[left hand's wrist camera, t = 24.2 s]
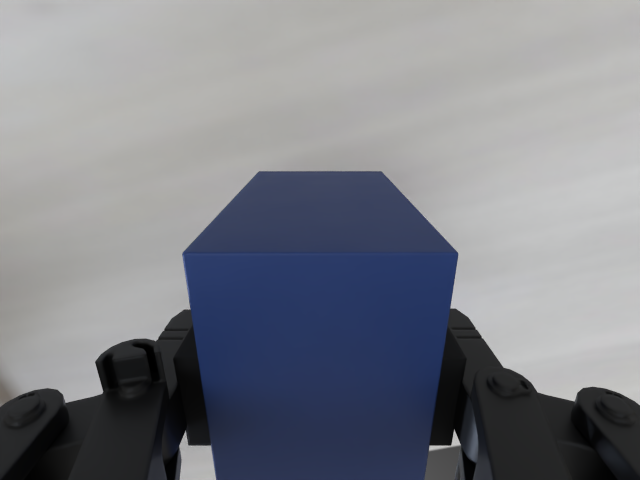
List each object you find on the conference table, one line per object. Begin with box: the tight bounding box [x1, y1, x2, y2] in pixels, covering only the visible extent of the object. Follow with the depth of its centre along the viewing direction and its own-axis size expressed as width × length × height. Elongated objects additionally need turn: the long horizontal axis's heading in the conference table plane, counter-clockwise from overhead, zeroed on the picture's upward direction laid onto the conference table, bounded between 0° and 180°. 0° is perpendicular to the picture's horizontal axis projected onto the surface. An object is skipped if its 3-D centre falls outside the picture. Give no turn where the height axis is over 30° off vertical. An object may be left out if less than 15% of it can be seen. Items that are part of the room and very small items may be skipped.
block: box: [182, 171, 458, 480], centre depth 12 cm, size 8×5×9 cm, turn 0°
